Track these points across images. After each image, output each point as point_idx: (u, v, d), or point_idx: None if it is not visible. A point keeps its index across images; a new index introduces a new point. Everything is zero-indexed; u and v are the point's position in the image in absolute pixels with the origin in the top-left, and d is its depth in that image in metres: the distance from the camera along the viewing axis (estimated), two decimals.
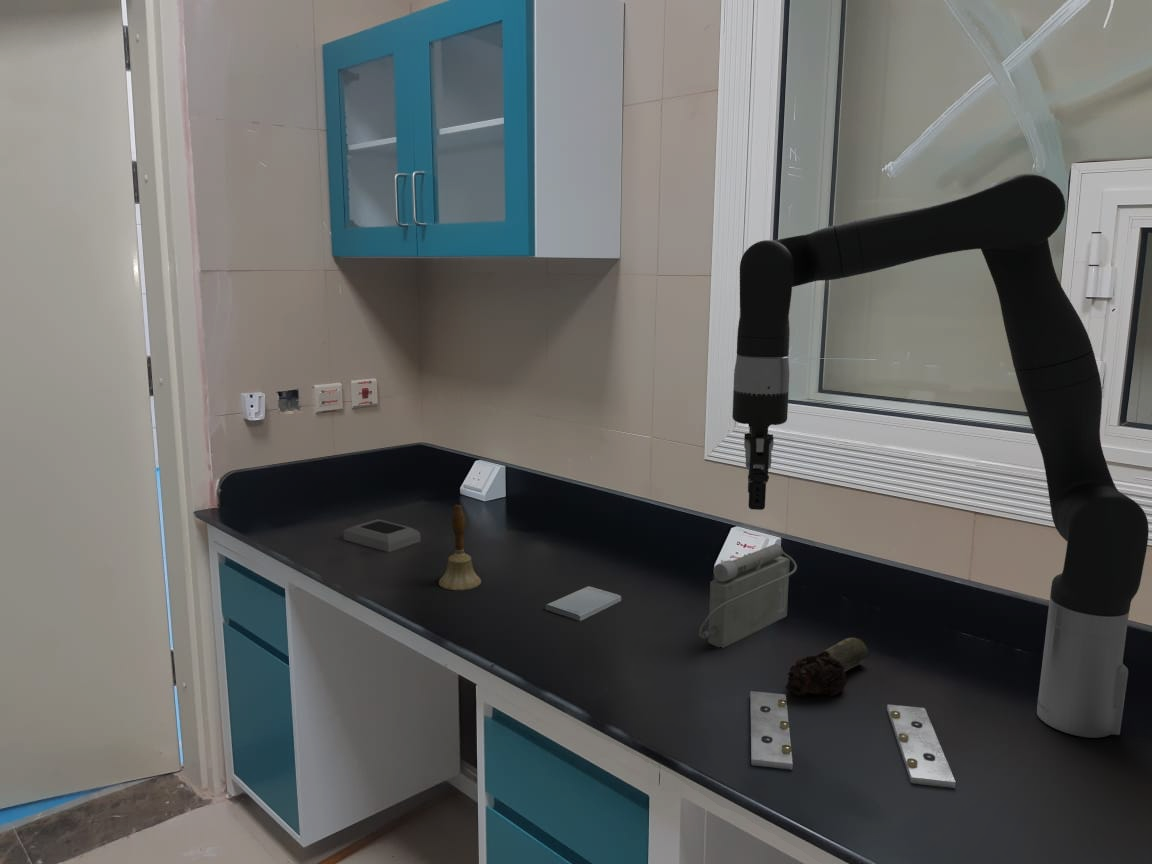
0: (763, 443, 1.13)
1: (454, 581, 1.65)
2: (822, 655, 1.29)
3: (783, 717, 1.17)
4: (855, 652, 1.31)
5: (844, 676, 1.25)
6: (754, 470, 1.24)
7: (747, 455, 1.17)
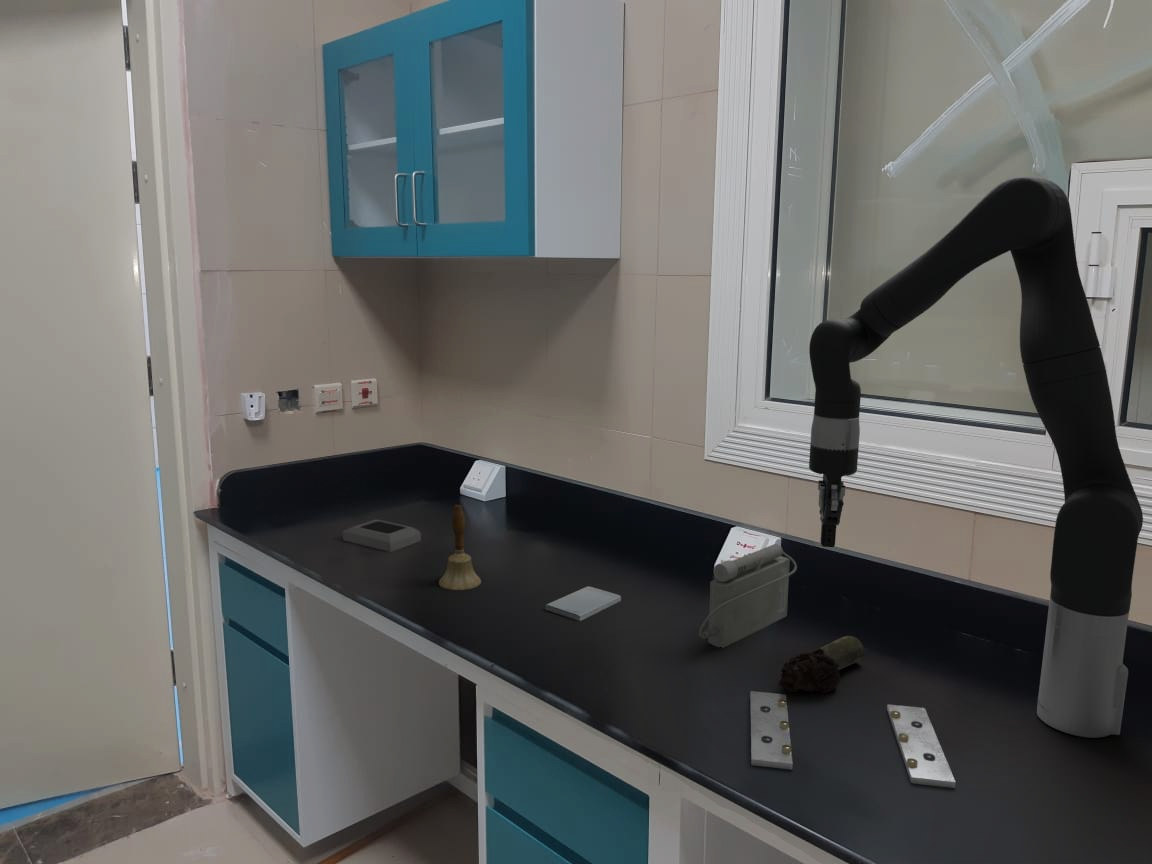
0: (837, 506, 1.34)
1: (454, 581, 1.65)
2: (817, 653, 1.30)
3: (783, 717, 1.17)
4: (851, 650, 1.32)
5: (837, 674, 1.25)
6: None
7: (821, 504, 1.38)
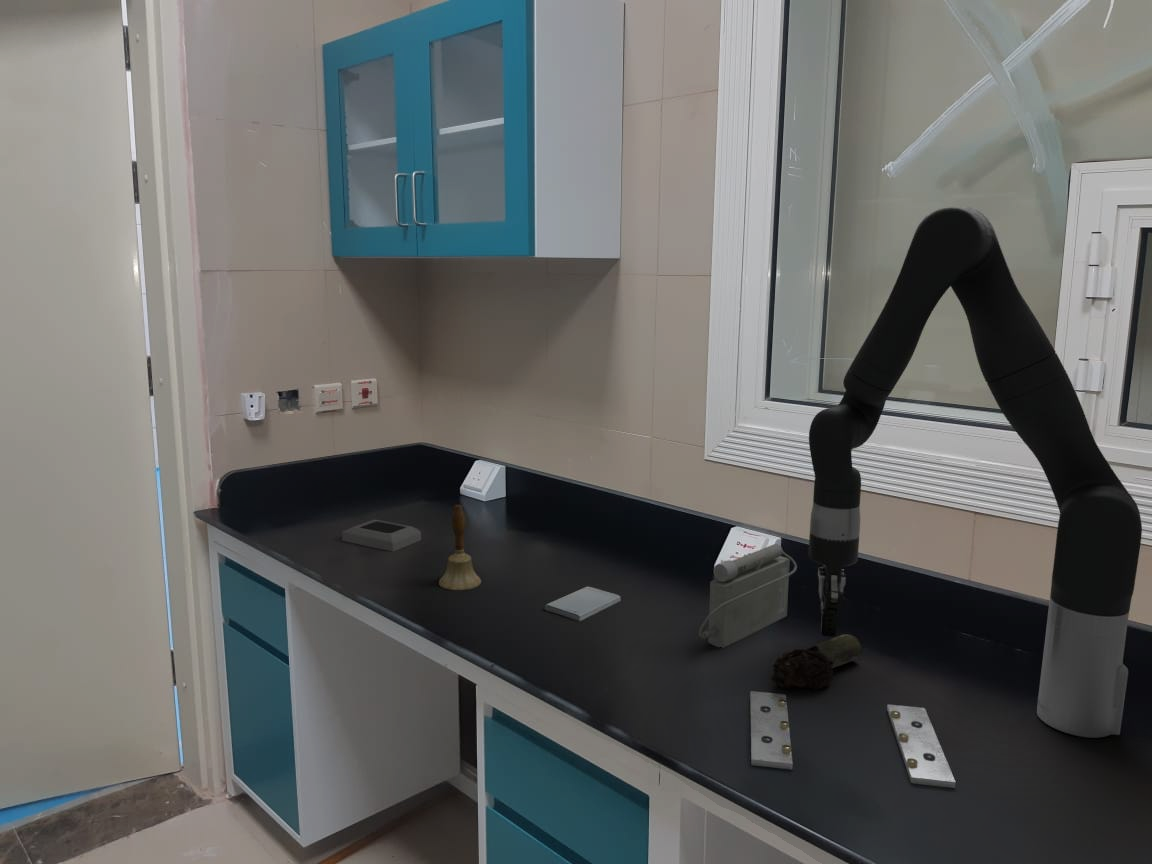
0: (837, 599, 1.30)
1: (454, 581, 1.65)
2: (812, 649, 1.31)
3: (783, 717, 1.17)
4: (847, 648, 1.33)
5: (830, 670, 1.26)
6: None
7: (821, 593, 1.35)
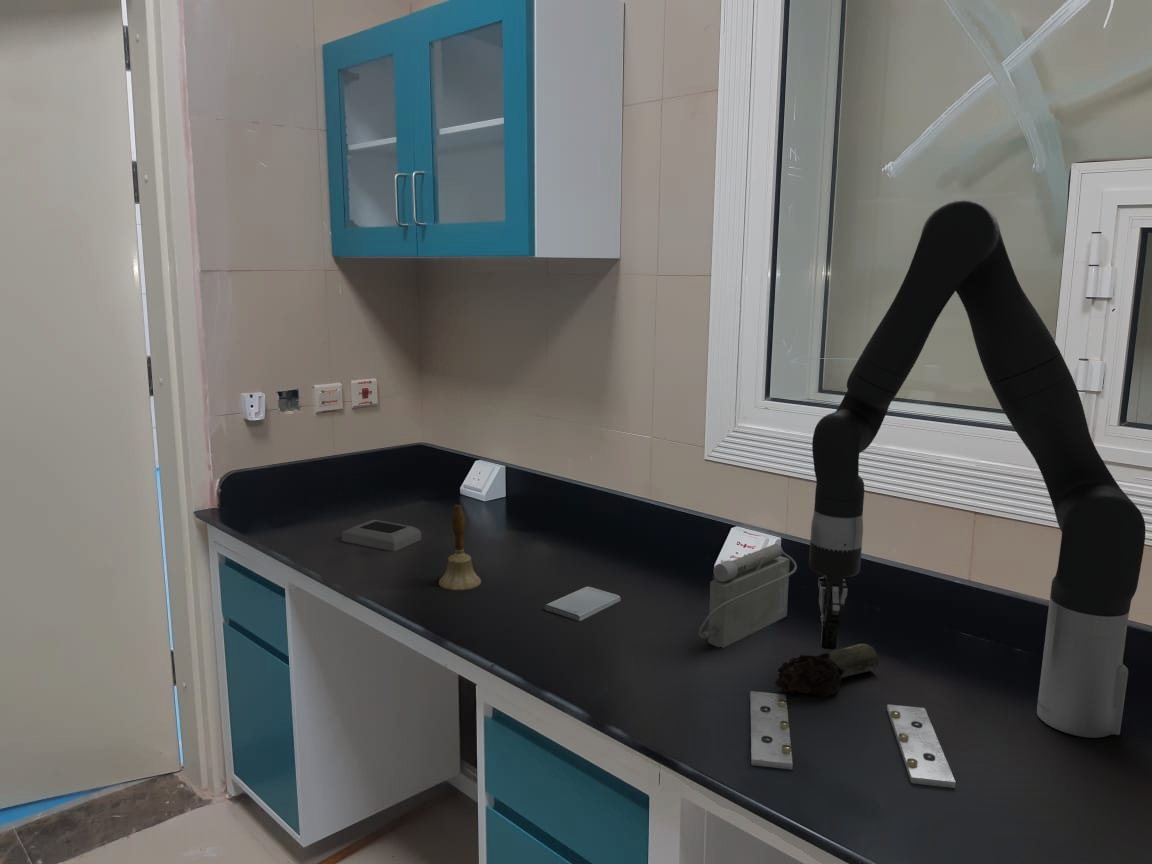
0: (838, 611, 1.25)
1: (454, 581, 1.65)
2: (823, 657, 1.29)
3: (783, 717, 1.17)
4: (861, 658, 1.29)
5: (837, 679, 1.24)
6: None
7: (822, 605, 1.30)
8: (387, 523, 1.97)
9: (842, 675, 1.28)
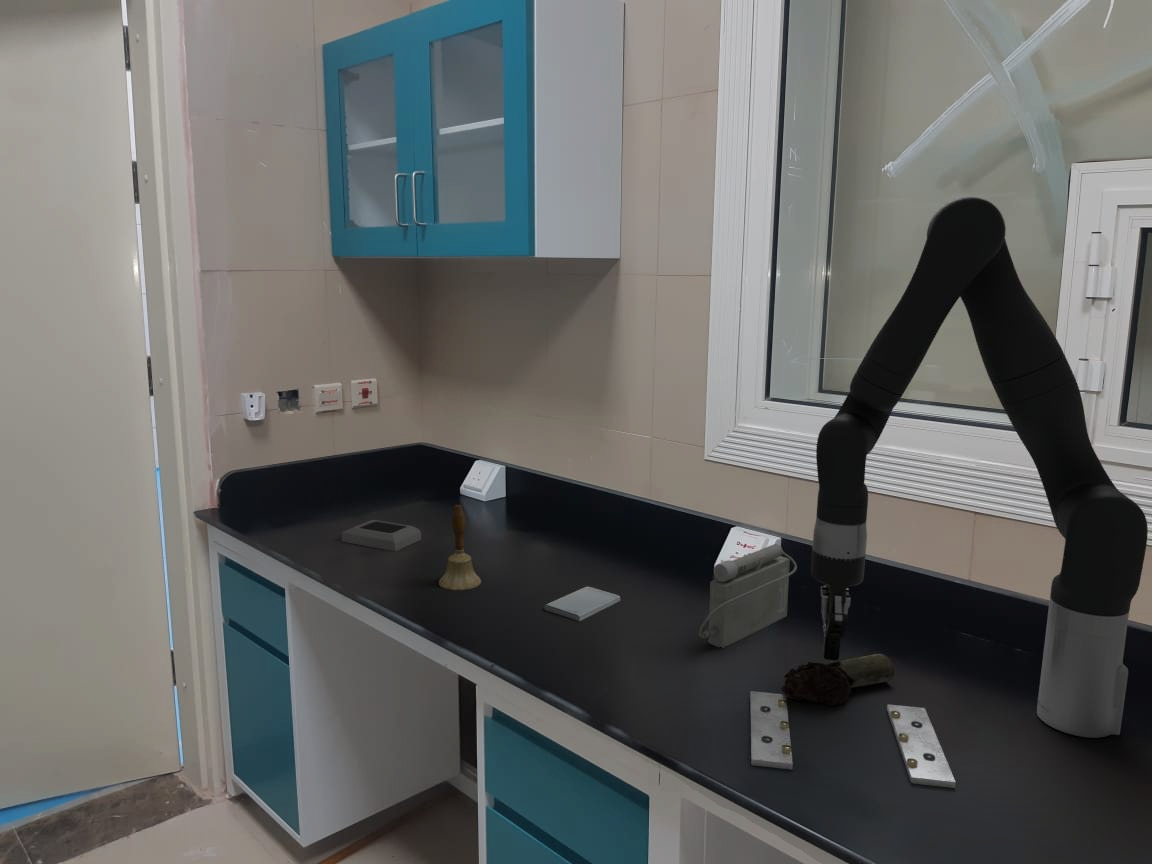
0: (841, 622, 1.21)
1: (454, 581, 1.65)
2: (834, 665, 1.26)
3: (783, 717, 1.17)
4: (874, 668, 1.26)
5: (845, 688, 1.21)
6: None
7: (824, 614, 1.26)
8: (387, 523, 1.97)
9: (853, 685, 1.25)
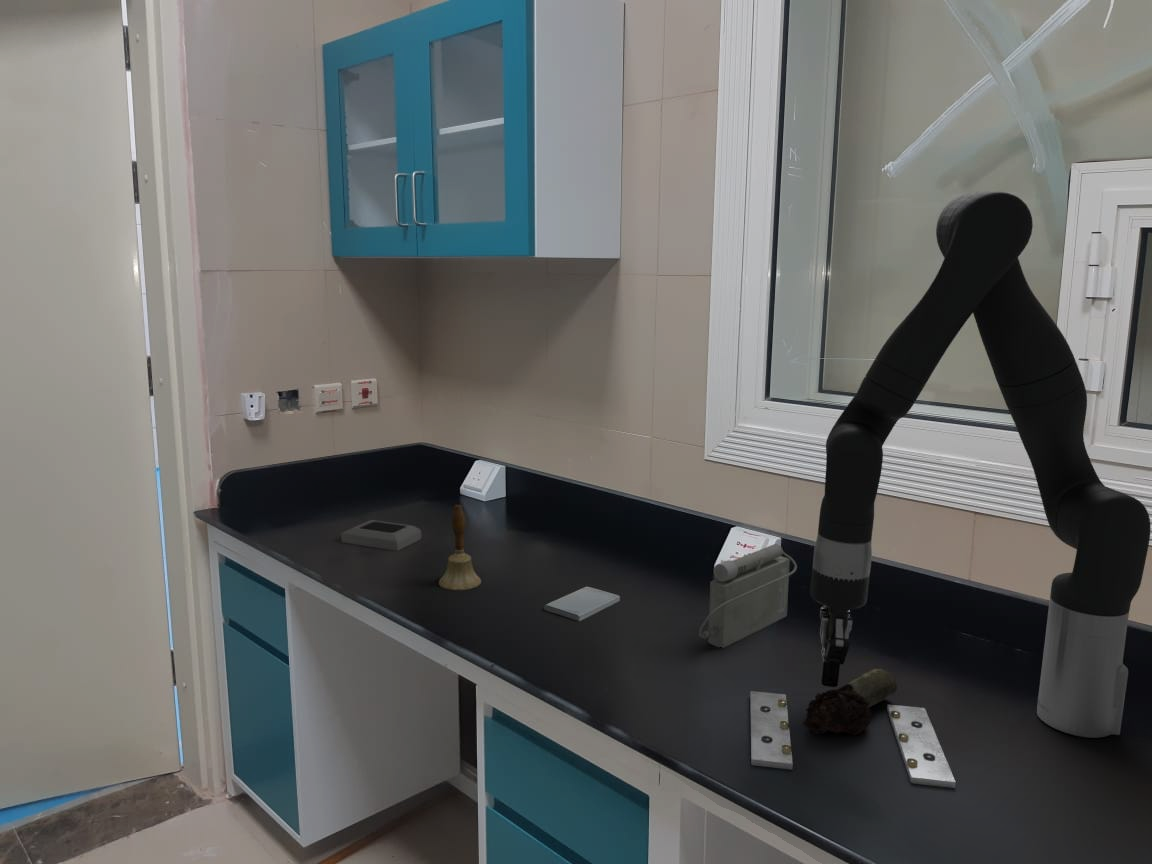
0: (842, 647, 1.12)
1: (454, 581, 1.65)
2: (845, 688, 1.19)
3: (783, 717, 1.17)
4: (882, 685, 1.20)
5: (868, 713, 1.14)
6: None
7: (823, 638, 1.17)
8: (386, 523, 1.97)
9: None
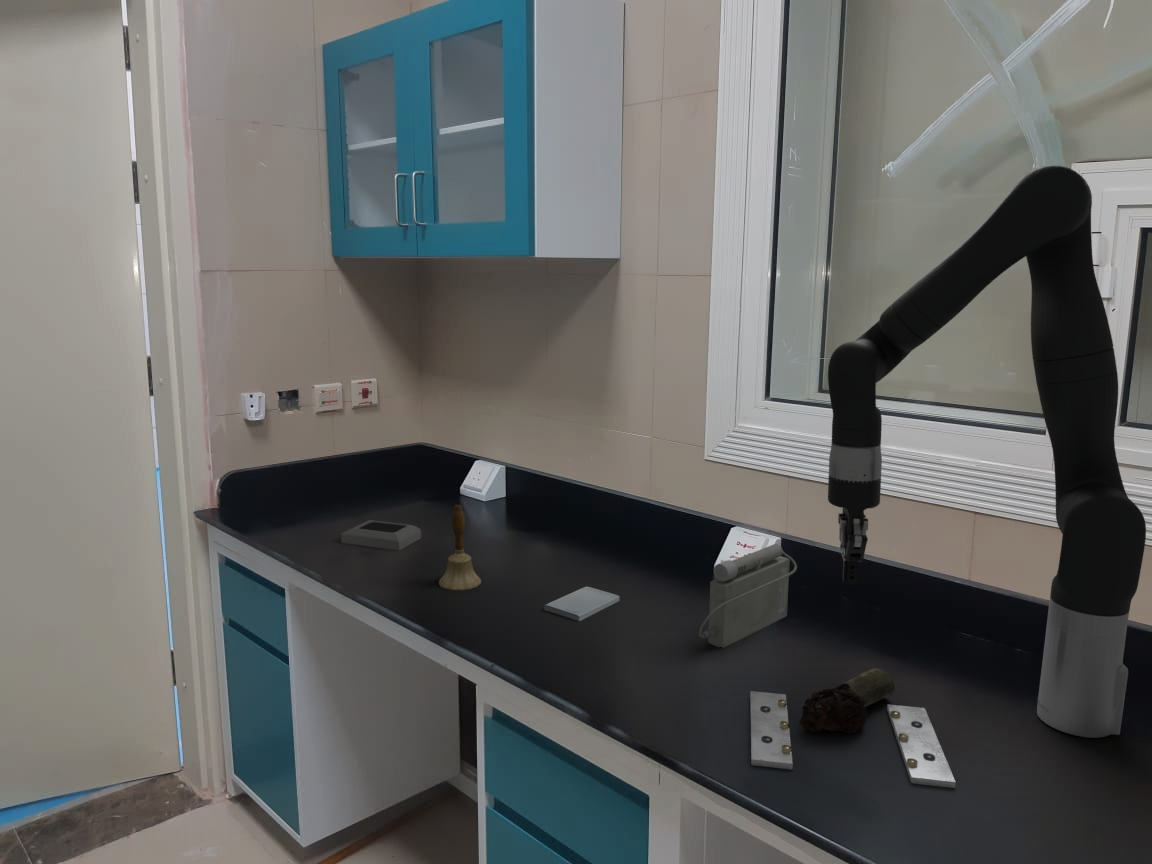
0: (861, 543, 1.24)
1: (454, 581, 1.65)
2: (842, 687, 1.19)
3: (783, 717, 1.17)
4: (879, 685, 1.21)
5: (864, 712, 1.14)
6: None
7: (843, 539, 1.28)
8: (385, 523, 1.97)
9: (863, 706, 1.19)
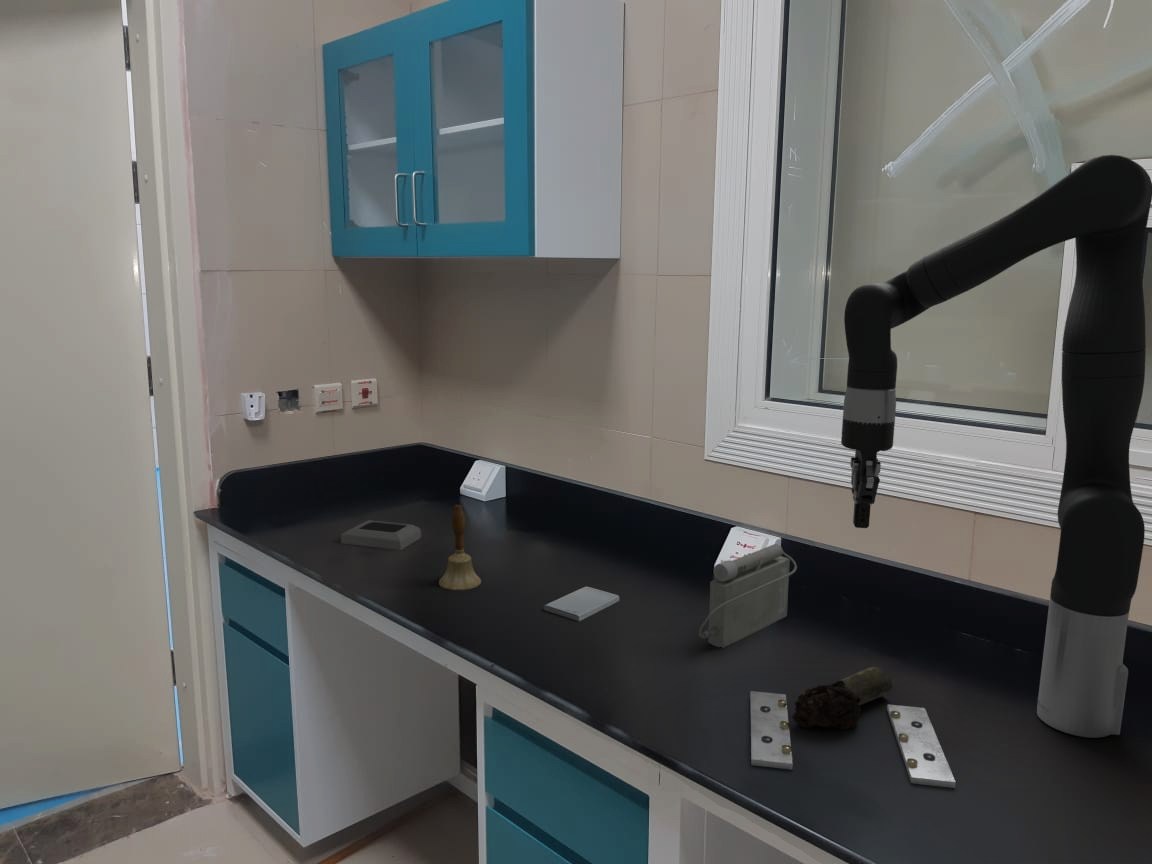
0: (873, 483, 1.25)
1: (454, 581, 1.65)
2: (837, 685, 1.20)
3: (783, 717, 1.17)
4: (875, 683, 1.21)
5: (857, 709, 1.15)
6: None
7: (855, 482, 1.30)
8: (384, 523, 1.97)
9: (858, 704, 1.19)
